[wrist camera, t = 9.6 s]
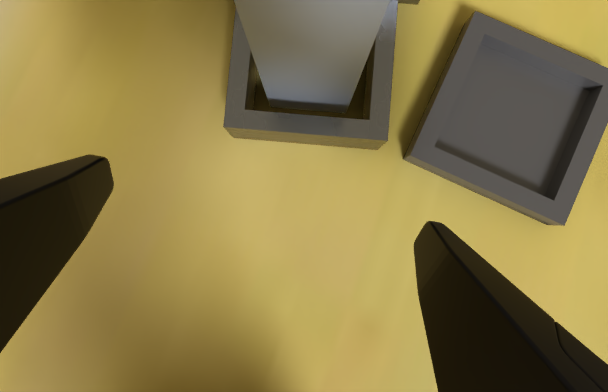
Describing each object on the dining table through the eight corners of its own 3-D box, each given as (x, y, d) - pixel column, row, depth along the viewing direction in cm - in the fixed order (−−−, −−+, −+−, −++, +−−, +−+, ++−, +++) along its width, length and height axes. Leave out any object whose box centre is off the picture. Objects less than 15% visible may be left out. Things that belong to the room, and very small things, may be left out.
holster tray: (546, 224, 17) (564, 225, 16) (403, 159, 18) (410, 155, 16) (605, 85, 18) (627, 76, 16) (464, 24, 18) (475, 10, 17)
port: (407, 152, 18) (459, 120, 12) (204, 135, 18) (152, 95, 12) (419, -15, 18) (474, -127, 12) (222, -30, 18) (181, -148, 12)
